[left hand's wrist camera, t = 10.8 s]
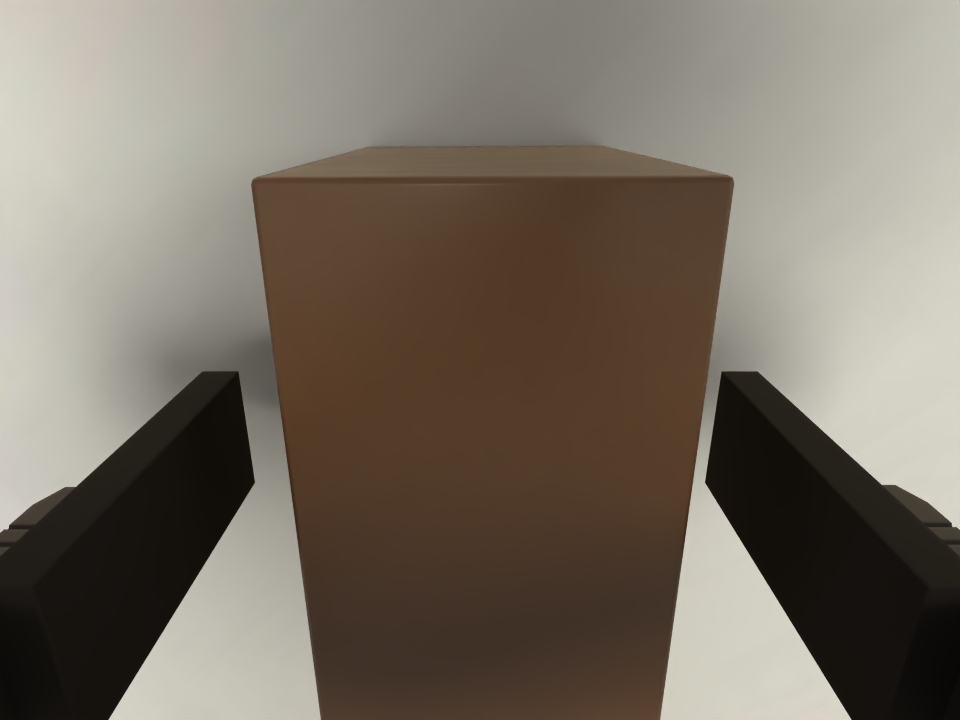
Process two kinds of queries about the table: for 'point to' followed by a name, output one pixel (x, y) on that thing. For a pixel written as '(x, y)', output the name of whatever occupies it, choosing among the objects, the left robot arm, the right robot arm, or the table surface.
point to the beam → (491, 420)
